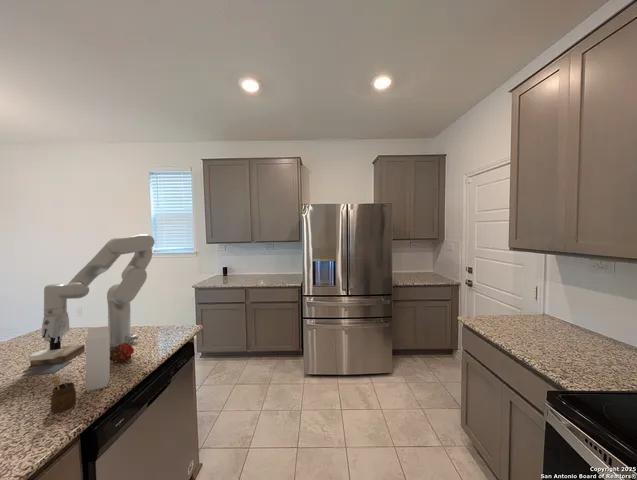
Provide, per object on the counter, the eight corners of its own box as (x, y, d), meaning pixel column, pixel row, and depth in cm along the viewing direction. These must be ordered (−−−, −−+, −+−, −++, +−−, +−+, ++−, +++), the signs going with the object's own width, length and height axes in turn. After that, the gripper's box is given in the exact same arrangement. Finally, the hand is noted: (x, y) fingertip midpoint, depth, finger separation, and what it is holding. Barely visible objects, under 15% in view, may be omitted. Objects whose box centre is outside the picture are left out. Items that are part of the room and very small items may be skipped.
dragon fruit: (116, 371, 113) (122, 363, 124) (135, 355, 117) (140, 349, 128) (102, 357, 112) (109, 350, 123) (122, 341, 116) (127, 337, 126)
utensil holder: (80, 401, 90) (80, 366, 90) (65, 412, 84) (65, 375, 84) (60, 402, 89) (60, 367, 89) (44, 415, 83) (44, 377, 83)
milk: (106, 387, 98) (106, 328, 98) (85, 391, 96) (85, 331, 95) (109, 379, 104) (109, 323, 104) (89, 383, 101) (90, 326, 101)
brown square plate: (84, 350, 131) (84, 344, 131) (65, 362, 118) (65, 356, 118) (53, 353, 128) (53, 346, 128) (30, 365, 115) (30, 358, 115)
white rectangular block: (63, 353, 121) (63, 348, 121) (53, 358, 115) (53, 354, 115) (40, 354, 119) (40, 350, 119) (29, 360, 113) (29, 356, 113)
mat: (71, 362, 118) (71, 361, 118) (54, 373, 109) (54, 372, 109) (42, 364, 116) (42, 363, 116) (22, 376, 106) (22, 375, 106)
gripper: (51, 315, 115) (51, 357, 115) (76, 306, 130) (76, 343, 130) (31, 315, 114) (31, 358, 113) (58, 307, 128) (58, 345, 128)
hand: (55, 350), depth 121 cm, fingers closed
